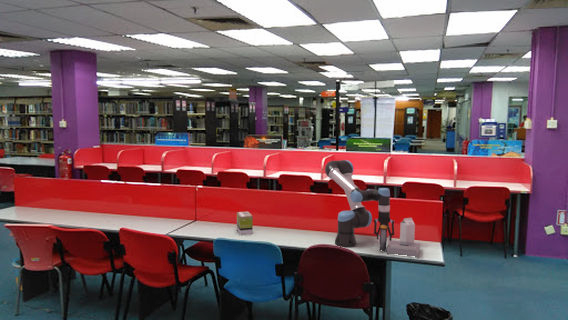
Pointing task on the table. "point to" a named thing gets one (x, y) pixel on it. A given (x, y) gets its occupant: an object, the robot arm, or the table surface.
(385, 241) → the grey orange-topped cylinder
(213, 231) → the table surface
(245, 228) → the tea box
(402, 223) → the milk carton
